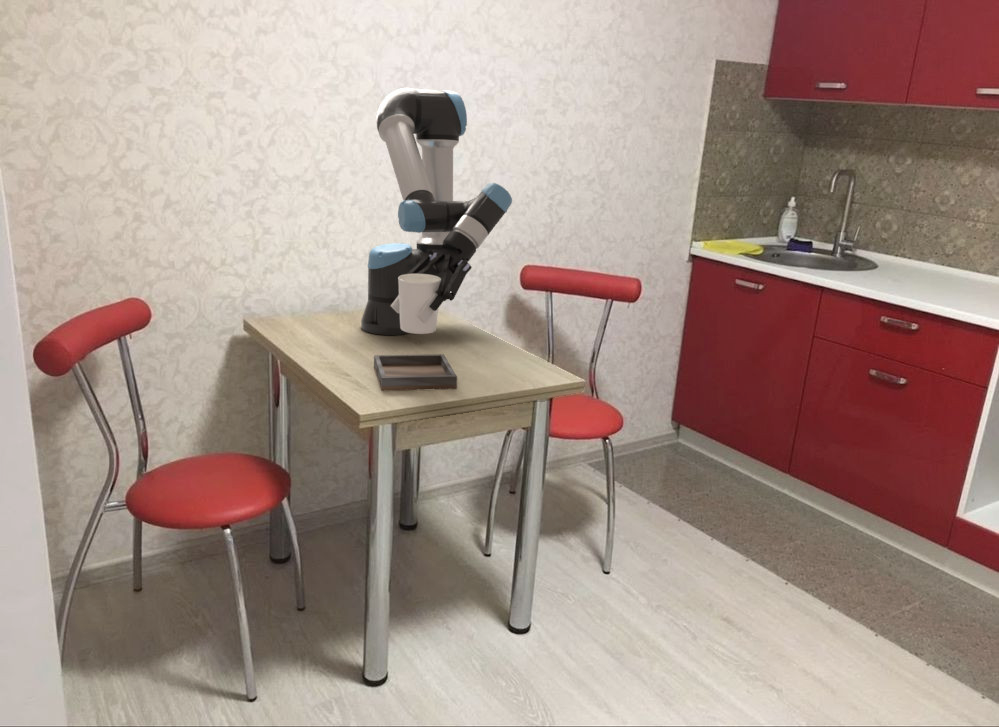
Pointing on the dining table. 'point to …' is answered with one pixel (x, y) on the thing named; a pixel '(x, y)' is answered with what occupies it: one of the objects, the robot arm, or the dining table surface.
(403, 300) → the candle holder
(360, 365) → the dining table surface
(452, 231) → the robot arm
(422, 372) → the socket base
